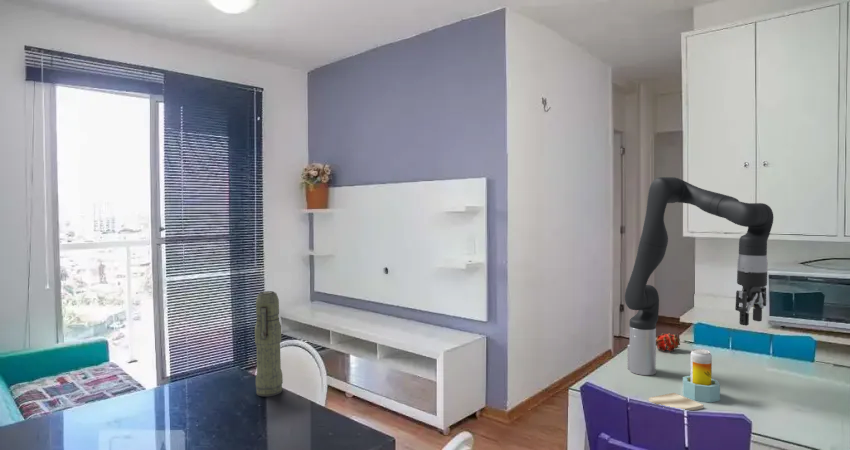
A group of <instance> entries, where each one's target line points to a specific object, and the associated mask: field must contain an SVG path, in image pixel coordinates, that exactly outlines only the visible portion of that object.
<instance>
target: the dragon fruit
mask: <svg viewBox="0 0 850 450" xmlns="http://www.w3.org/2000/svg"><path fill="white" fill-rule="evenodd" d="M680 339H681V338H679V336H678V335H677V334H671V333H670V332H667V333H665V332H662V333H661V334H659V335H656V350H658V351H662V352H663V351H668V352H669V353H671V352H673V351H675V350H676V349H679V348H680V345H681V343H680V342H681V340H680Z"/></svg>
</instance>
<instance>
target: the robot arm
mask: <svg viewBox="0 0 850 450" xmlns="http://www.w3.org/2000/svg"><path fill="white" fill-rule="evenodd" d="M675 203H678V204H679V203H681V204H689V205H692V206H695V207H697V208H698V209H700V210H701V211H703V212H705V213H707V214H710V215H712V216H717V217H719V218H722V219H726V220H727V221H729V222H732V223H733V224H734V225H738V226H741V227H746V228H747V231H746V233H745V234H743V235H741V236H740V237H739V240H738V241H739V242H738V257H737V265H736V266H737V267H736V269H737V270H736V272H737V274H736V283H737V285H738V286H741V287H742V288H741V289H742V290H736V293H735V309H734V310H735V311H738V313H739V322H738V323H739V325H741V326H745V327H747V326H749V324H750V323H749V320H750V309H751V308H752V307H753V308H752V320H753V321H754V322H762V320H763V310H764V307H767V285H768V240H769V237H770V234H771V230H772V227H773V224H774V212H773V210H772V208H771V206H769V204H767V203H762V202H755V203H753V202H752V203H751V202H750V203H748V202H745V201H744V202H743V201H740V200H739V199H737V198H736V197H734V196H730V195H728V194H724V193H719V192H715V191H711V190H707V189H703V188H700V187H698V186H696V185H693V184H692V183H689V182H687V181H685V180H683V179H681V178H679V177H675V176H672V177H671V176H666V177H665V176H663V177H662V176H661V177H656V178H654V179H653V180H652V182H651V184H650V186H649V189H648V195H647V203H646V210H645V217H644V222H643V227H642V231H641V236H640V238H639V243H638V247H637V252H636V258H635V260H634V264H633V268H632V271H631V275H630V277H629V280H628V282H627V286H626V289H625V293H624V302H625V305H626V307H627V308H628V309H629V310H631V311H637V312H636V314H635V315H634V316H631V317H630V319H629V343H628V344H627V370H629V372H630V373H633V374H635V375H636V374H637V375H641V376H653V375H656V373H657V372H656V371H657V368H656V367H657V366H656V365H657V346H656V339H657V323H658V320H659V312H660V311H659V310H660V309H659V308H660V295H659V292H658V289H656V287H655V286H653V285H651V284H648V281H649V278H650V276H651V275H653V272H655V270H656V269H657V267H658V266H660V264H661V263H662V261H663V260H664V258H665V254H666V251H667V246H668V243H669V235H668V231H667V228H666V224H665V212H666V208H667V205H668V204H675Z"/></svg>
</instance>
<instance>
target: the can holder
mask: <svg viewBox="0 0 850 450" xmlns="http://www.w3.org/2000/svg"><path fill="white" fill-rule="evenodd" d="M682 396H683V397H686V398H688V399H690V400H693V401H695V402H702V403H703V402H704V403H715V402H719V401H721V384H720V382H719V381H718V380H717V379H714V378H712V385H709V386H707V385H698V384H694V383H692V382H691V375H686V376H682Z"/></svg>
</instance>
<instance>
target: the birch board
mask: <svg viewBox="0 0 850 450" xmlns="http://www.w3.org/2000/svg"><path fill="white" fill-rule="evenodd" d="M648 402H651V403H653V404H655V403H656V404H655V405H657V404H661V405H665V406H670V407H675V408H681V409H685V410H692V411H697V410H701V409H704V408H705V407H704V404H703V403H700V402H699V401H695V400H693V399H690V398H688V397H685V396H684V395H680V394H678V393H676V392H672V393H666V394H661V395H656V396H651V397H648Z"/></svg>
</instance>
